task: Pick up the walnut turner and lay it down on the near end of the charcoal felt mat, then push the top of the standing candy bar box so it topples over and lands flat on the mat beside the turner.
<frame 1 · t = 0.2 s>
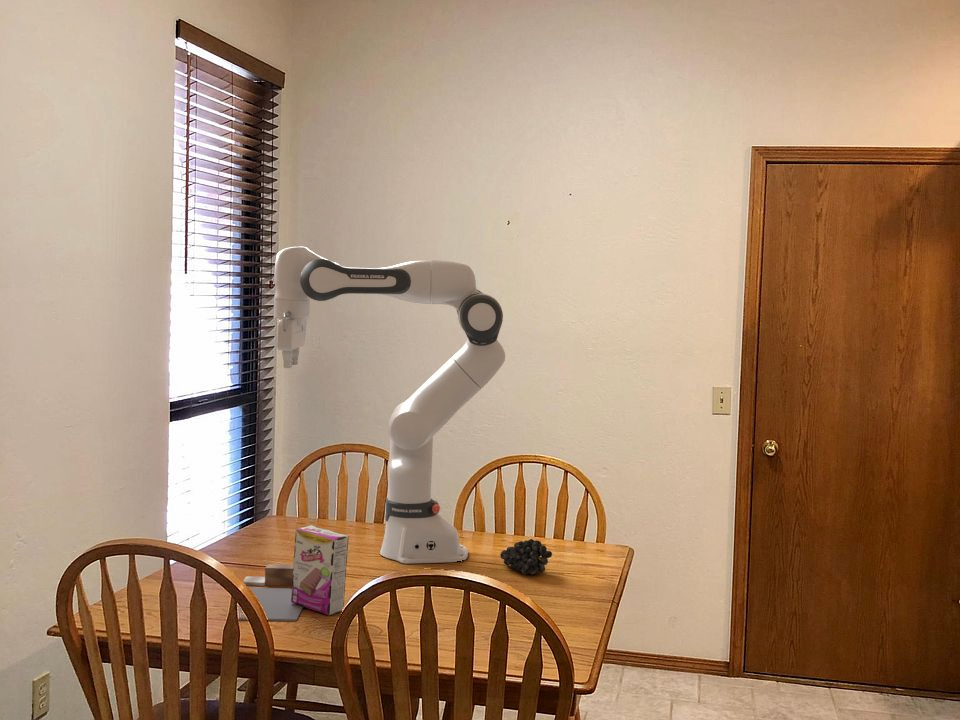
hand: (290, 366, 248), 47 cm above the table, tool pointing down, fingers open, 8 cm apart
fruit: (523, 571, 242), on the table
candy bar box: (316, 608, 209), on the table, touching mat
turner: (283, 583, 226), on the table
mat: (271, 604, 211), on the table
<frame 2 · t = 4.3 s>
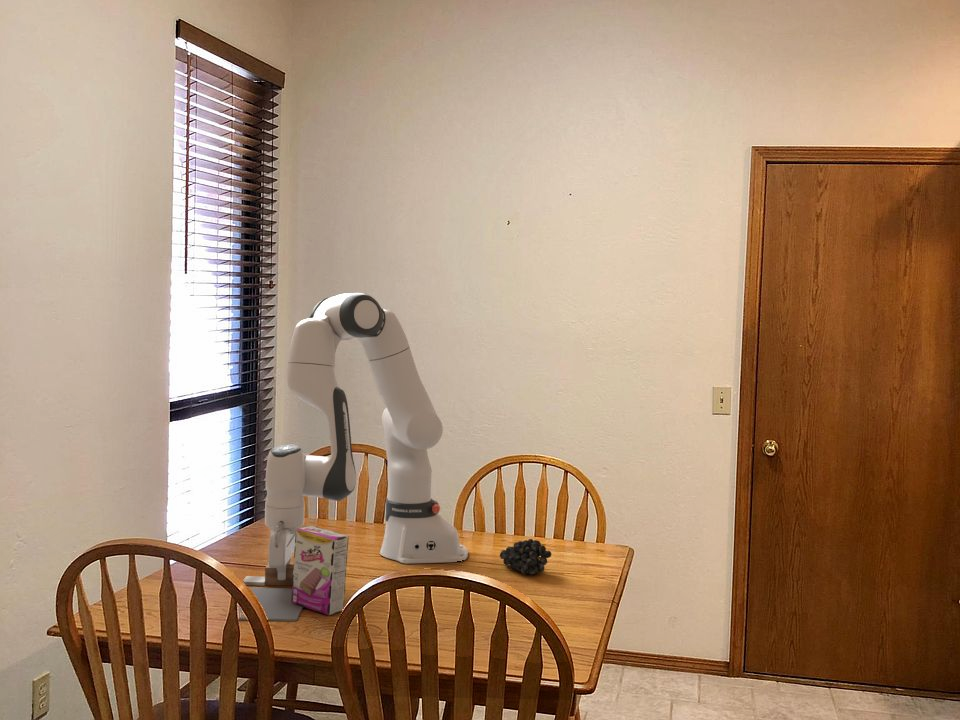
hand: (283, 576, 225), 2 cm above the table, tool pointing down, fingers closed on turner, 3 cm apart
turner: (283, 583, 226), on the table, touching gripper
everything else where it was.
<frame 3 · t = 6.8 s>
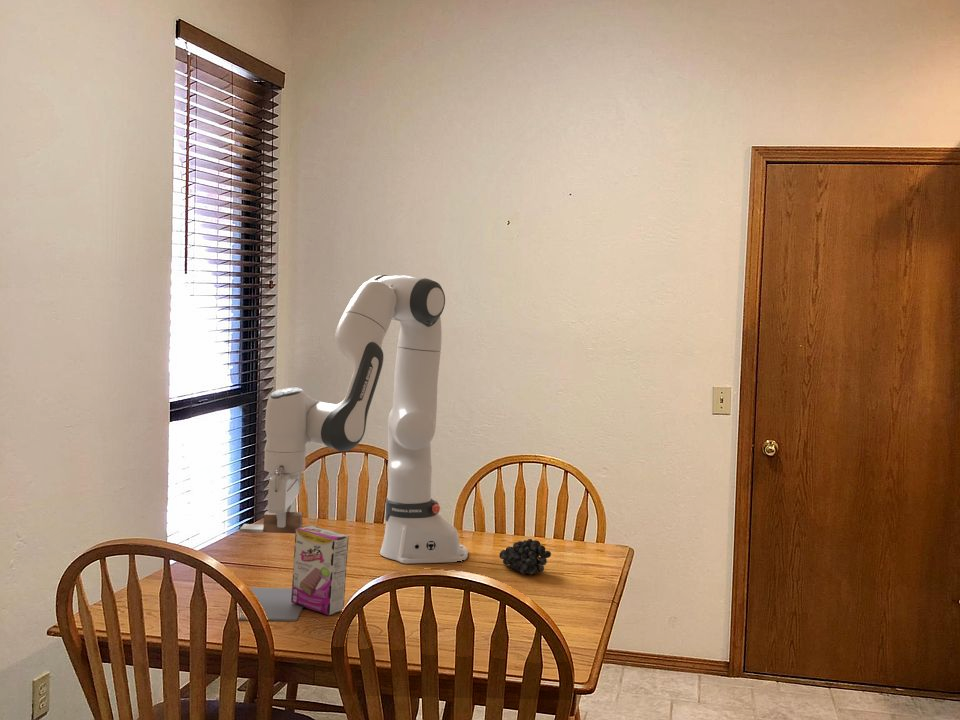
hand: (283, 524, 217), 15 cm above the table, tool pointing down, fingers closed on turner, 3 cm apart
turner: (282, 531, 217), point 14 cm above the table, touching gripper
everything else where it was.
when the fingers open (3 cm above the table, at t = 9.1 s): turner drops 1 cm, resting on mat.
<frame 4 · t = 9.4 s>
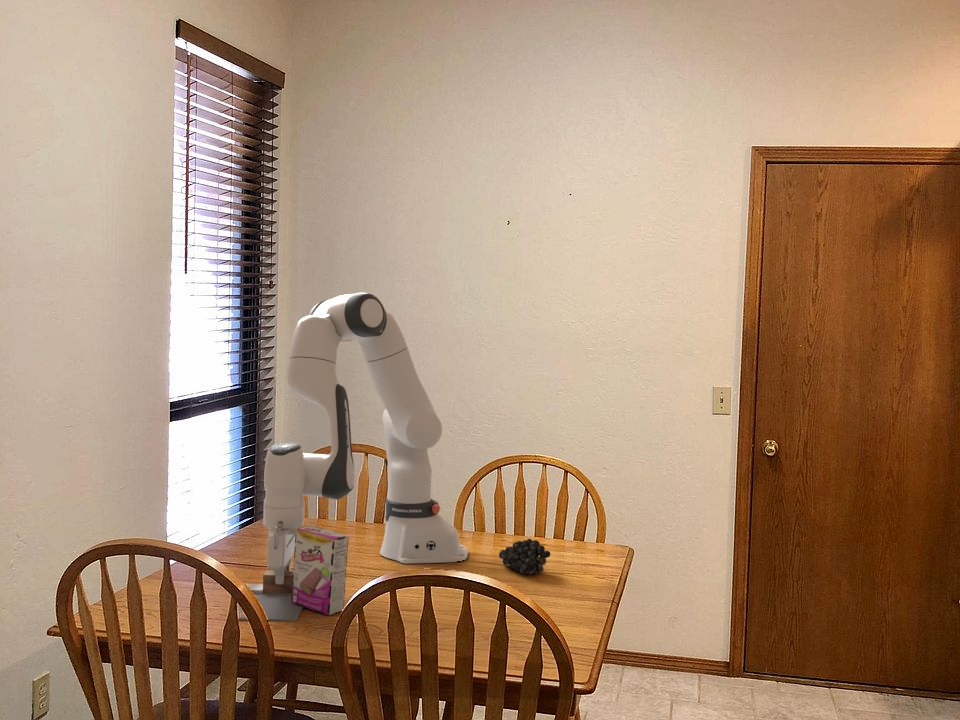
hand: (282, 578, 218), 3 cm above the table, tool pointing down, fingers open, 6 cm apart
turner: (282, 591, 219), resting on mat
everything else where it was.
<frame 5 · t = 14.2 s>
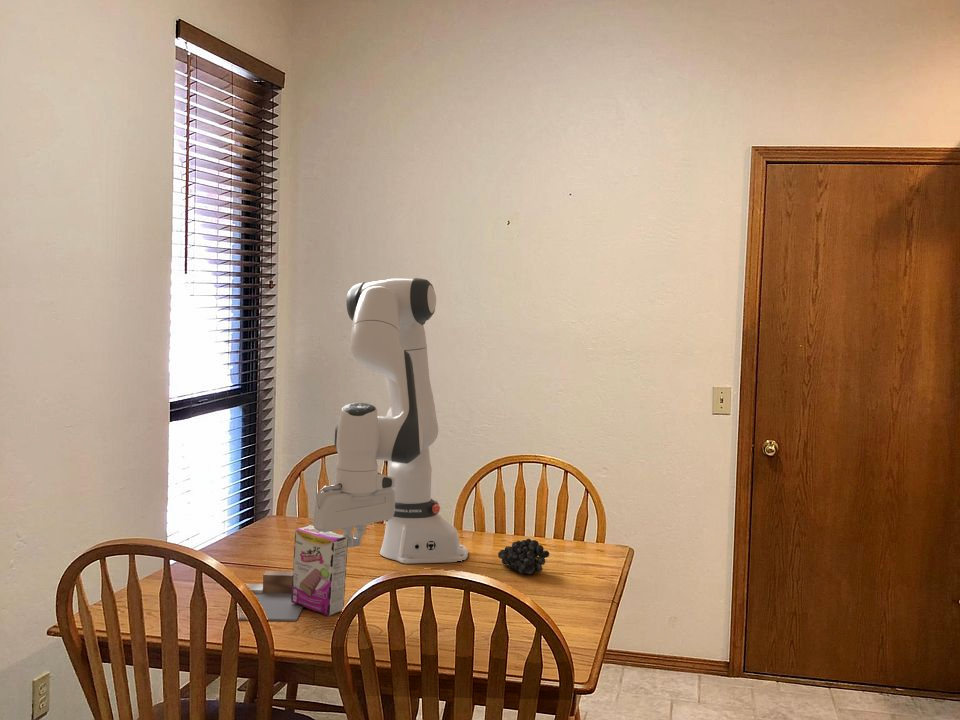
hand: (353, 546, 208), 14 cm above the table, tool pointing down, fingers closed
candy bar box: (316, 608, 209), on the table, touching gripper, mat
everything else where it was.
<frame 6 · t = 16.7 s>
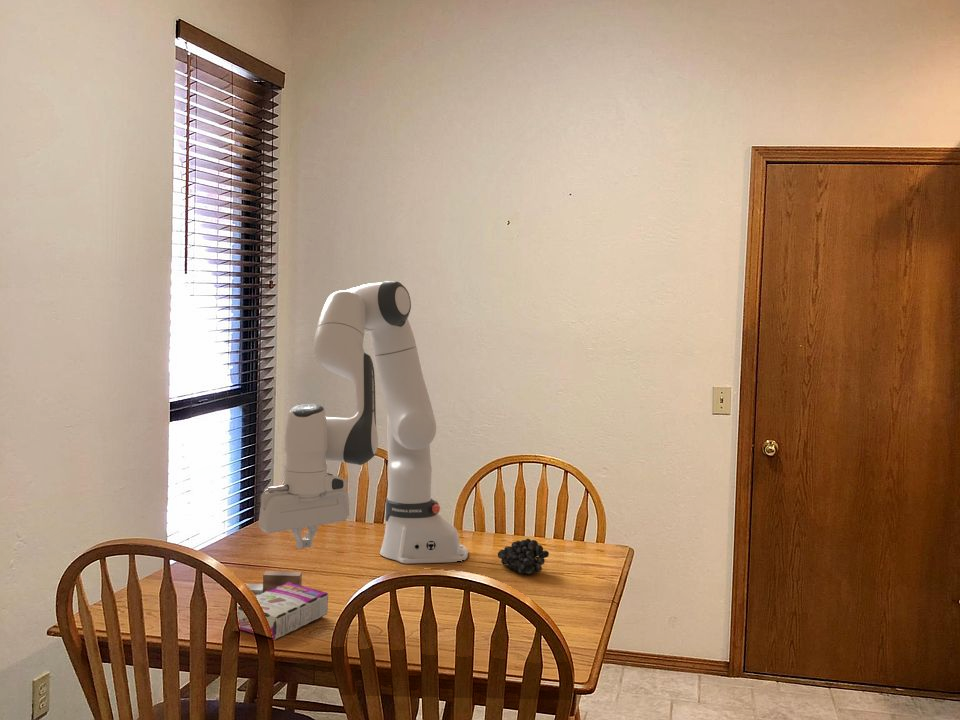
hand: (304, 547, 208), 13 cm above the table, tool pointing down, fingers closed
candy bar box: (308, 598, 206), point 3 cm above the table, touching mat
everything else where it was.
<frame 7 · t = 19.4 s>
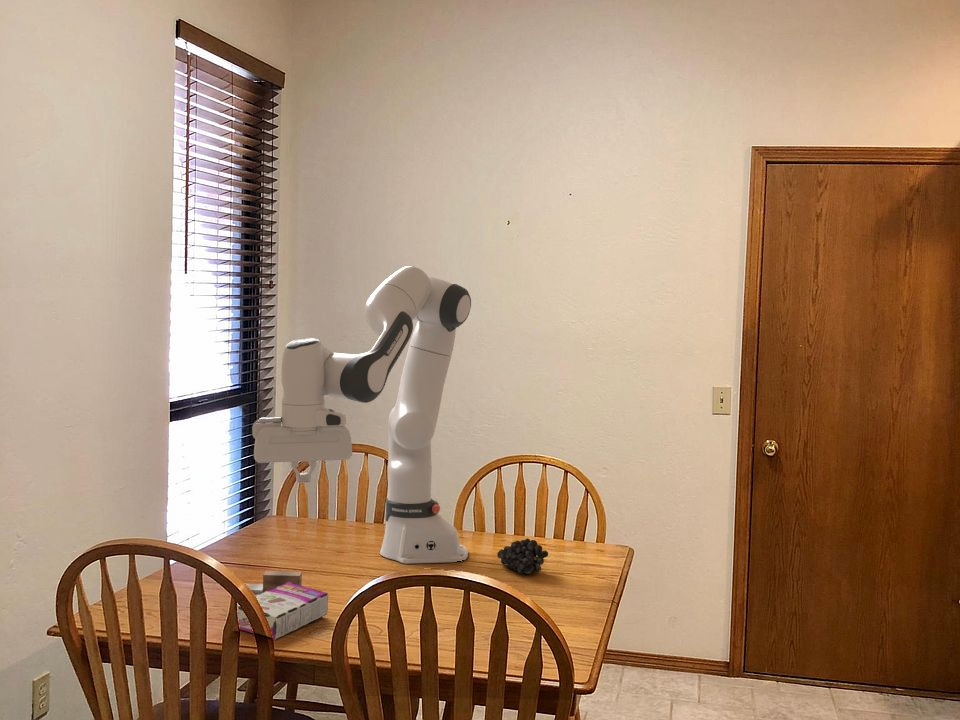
hand: (303, 482, 207), 27 cm above the table, tool pointing down, fingers closed
nothing on the table moved.
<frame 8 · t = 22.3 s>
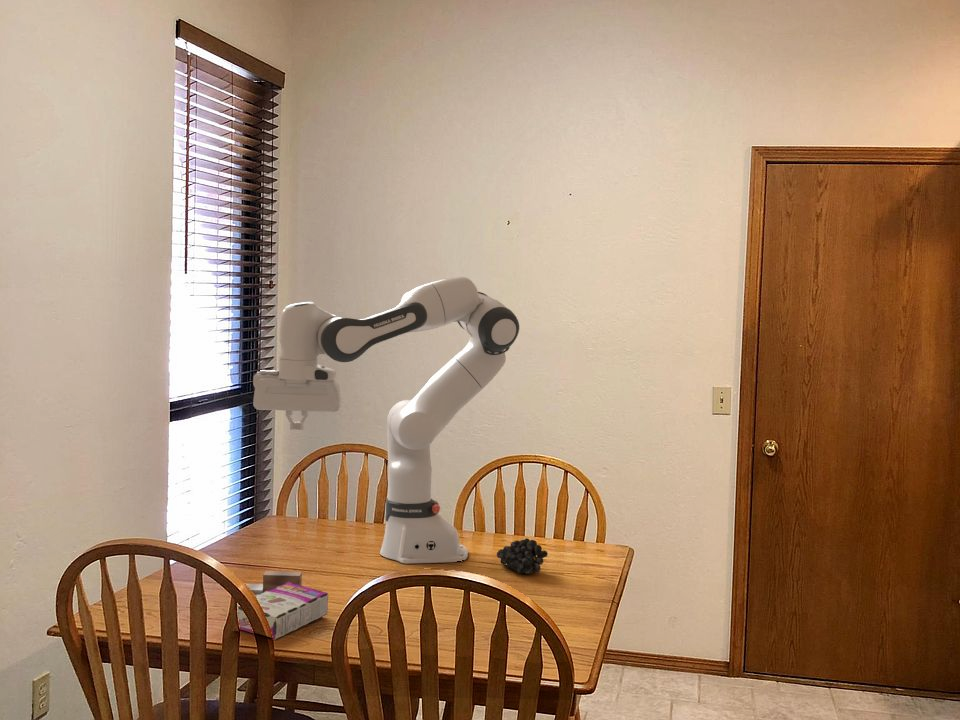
hand: (296, 429, 232), 34 cm above the table, tool pointing down, fingers closed
at the end: candy bar box tilted 91°; candy bar box 9.6 cm from the mat (horizontally); turner inside the target area on the mat (8.1 cm from its centre), point 0.4 cm above the mat's base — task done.
